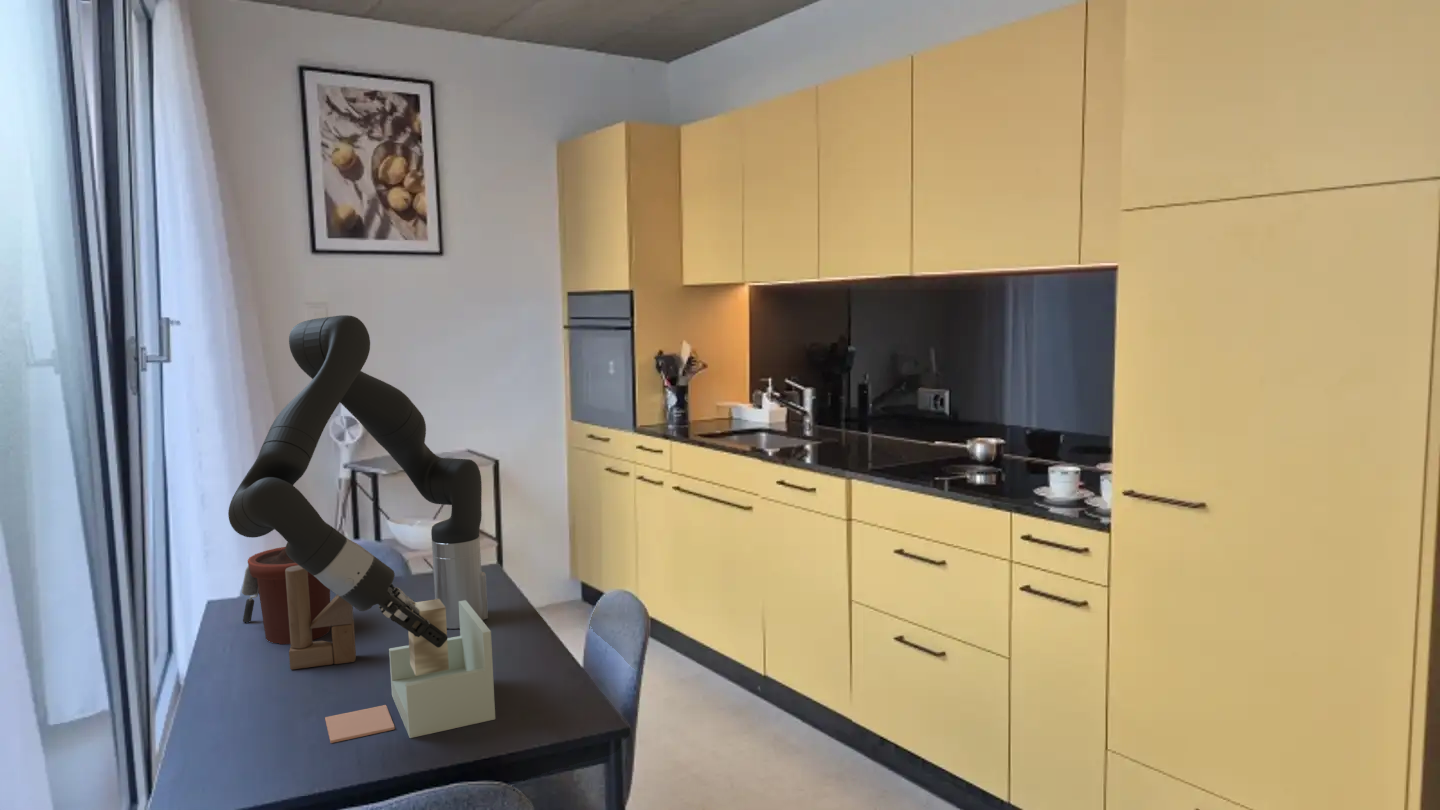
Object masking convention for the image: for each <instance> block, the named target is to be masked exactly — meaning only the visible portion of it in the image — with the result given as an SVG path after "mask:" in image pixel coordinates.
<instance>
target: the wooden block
mask: <svg viewBox="0 0 1440 810" xmlns="http://www.w3.org/2000/svg"><path fill="white" fill-rule="evenodd" d="M285 575H286V589H287V602H288V615H289V629H290V642H291V644H290V647H289V649H288V650H289V651H288V657H289V658H288V659H289V669H290V670H292V671H293V670H299V669H306V668H316V667H324V666H331V665H333V664H334V665H341V664H347V663H354V662H356V656H357V649H356V636H355V633H356V632H355V620H354V606H352V605H351V604H349V603H348V602H347V601H345V600H344V599H342V598H341V597H340V596H338V595H337V594H336V595H335V596H334V597H333V598H332V600H330V603H329V604H328V605H327V606H326V607H325V608H324V609H323V610H322V611H321V612H320V614H319V615H318V616H317V617H316V618H315V619H314V620H313V621H312V623H311V614H310V600H309V586H308V572H307V571H306V570H305V569H304V568H302V567H301V566H299V565H297V566H291V567H288V568H286V570H285ZM328 626H330V631H331V641H325V640H317V641H316V640H315V641H313V640H312V628H320V627H328Z"/></svg>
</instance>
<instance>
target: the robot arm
mask: <svg viewBox="0 0 1440 810" xmlns="http://www.w3.org/2000/svg"><path fill="white" fill-rule="evenodd" d="M370 338H371V337H370V334H369V331H368V328H367V327H366V325H365V323H364V322H363V321H361V319H359V318H358V317H356V316H353V315H333V316H326V317H320V318H319V317H318V318H312V319H308V320H304V321H302V322H299V323H297V324H296V325H295V326H294V327H292V329H291V330H290V332H289V336H288V345H289V350H290V354H291V355H292V357H293V359H294V361H295V362H296V364H297V365H298V367H299V368H300V369H301V370H302V372H304V373H305V374H306V375H307V376H308V377H309V378H311V381H310V382H309V383H308V384H307V385H306V386H305V387H304V388H303V389H302V390H301V391H300V392H299V393H298V394H297V395H296V396H295V397H294V398H293V399H292V400H291V401H290V402H289V403H287V404H286V405H285V406H284V407H283V408H282V409H281V411H280V412H279V413H278V415H277V416H276V418H275V419H274V421H272V423H271V426H270V427H269V430H268V432H267V435H265V439H264V441H263V443H262V445H261V447H260V450H259V453H258V455H257V458H256V459H255V461H254V462H253V465H252V466H251V467H250V469H248V472H247V473H246V475H245V476H244V478H243V480H242V481H241V482H240V483H239V486H238V487H237V489H236V491H235V492H234V494H233V496H232V497H231V501H230V503H229V506H228V510H227V511H228V516H227V517H228V520H229V525H230V526H231V528H232V529H233V531H235V532H236V534H238V535H240V536H243V537H246V538H259V537H264V536H265V535H268V534H269V533H271V532H273V531H274V530H275V532H278V534H279V535H281V537H282V538H284V540H285V541H286V544H285V547H286V548H285V549H286V554H287V555H288V557H289V558H290V559H292V560H293V561H294V562H295V563H297V564H298V565H299V566H301V567H302V568H304V569H305V570H306V571H308V572H309V573H311V574H312V575H314V576H315V577H316V578H317V579H318V580H319V581H320V582H321V583H322V584H323V585H324V586H326V587H327V588H328V589H330V592H333V593H334V594H336V595H338V596H340V597H341V598H342V599H344V600H345V601H347V602H348V603H349V604H351V605H352V606H353V608H355V610H358V611H360V612H365V611H368V610H371V609H372V608H373V606H375V605H379V606H378V608H379V609H380V612H381V614H383V615H384V616H385V617H386V618H387V619H390V620H391V621H392V622H395V623H396V624H397V625H399V626H400V627H402V628H404V629H405V630H407V632H408V631H409V632H411V633H413V634H414V636H417V637H420V636H422V637H424V638H425V639H426V640H428V641H429V642H431V643H432V644H433V645H435V646H436V647H438V648H439V647H441V646H442V645H443V644H444V643H445V641H446V640H447V638H449V637H448V634H447V635H446V634H445V633H443V632H442V631H441V630H439V629H438V628H437V627H435V626H434V625H432V624H431V623H430V622H429V620H428V619H425V618H424V617H423V616H421V615H420V609H419V608H417V607H416V606H415V605H414V604H415V602H416V601H414V600H413V599H412V598H411V597H410V596H409V595H406V593H405V592H404V591H403V590H402V589H400V588H399V587H398V586H396V587H395V586H394V584H393V582H394V580H395V576H396V574H395V571H394V570H393V569H392V568H391V567H390V566H388V565H387V564H385V563H384V562H383V561H382V560H380V559H379V558H378V557H376V556H375V555H373V554H372V553H371V552H370V551H368V550H367V549H366V548H364V547H363V546H361V545H360V544H359V543H357V542H355V541H353V540H351V539H349V538H348V537H346V536H345V535H344V534H342V533H341V532H340V531H338V529H336V528H334V527H333V526H332V525H330V524H329V523H328V522H326V521H325V520H324V519H323V518H322V516H321V515H320V514H319V512H318V511H317V510H316V509H315V507H314V506H313V505H312V504H311V503H310V502H309V500H308V499H307V498H306V496H304V495H303V493H302V492H301V491H300V490H299V489H297V487H296V486H294V485H295V484H296V483H297V482H298V481H299V480H300V479H301V478H302V477H303V476H304V474H305V472H306V471H307V469H308V468H309V465H310V462H311V460H312V458H313V455H314V453H315V451H316V448H317V446H318V443H319V441H320V438H321V436H322V434H323V432H324V429H325V428H326V426H327V424H328V422H329V421H330V419H331V417H332V415H333V414H334V412H335V411H336V409H337V408H338V406H339V404H341V405H342V406H343V407H344V408H345V409H346V410H347V411H348V412H349V413H350V414H351V415H352V416H353V417H354V418H355V419H356V420H357V421H358V422H359V423H360V425H362V426H363V428H364V429H365V430H366V431H367V433H368V434H370V436H371V437H372V438H373V439H374V440H375V441H376V442H377V443H378V444H379V445H380V446H381V447H382V448H383V449H384V450H385V451H386V452H387V454H389V456H391V457H392V458H393V460H394V461H395V462H396V463H397V464H398V465H399V466H400V468H402V470H403V471H404V473H405V474H406V476H408V478H409V480H410V481H411V482H412V484H413V486H414V487H415V488H416V490H417V491H418V493H420V495H421V496H422V497H423V499H425V500H426V501H428V502H429V503H430V504H435V505H447V506H451V512H450V513H451V514H450V517H449V518H448V519H444V520H441V521H439V522H437V523H435V524H433V526H432V527H431V535H430V536H431V551H432V566H433V570H432V571H433V585H434V586H433V587H434V599H440V601H441V602H442V603H443V605H444V606H445V607H446V626H447V629H454V630H456V629H460V620H459V601H464V600H466V601H467V602H468V604H469V605H470V606H471V607H472V609H473V610H474V611H475V612H476V613H477V615H478V616H479V617H480V618H481V620H482V621H483V622H484V620H486V619H489V611H488V595H487V593H488V592H487V576H486V572H485V571H482V559H481V557H482V556H481V542H480V541H481V540H480V536H481V535H480V528H481V523H482V515H483V513H482V512H483V511H482V493H483V492H482V488H483V487H482V475H481V471H480V468H479V466H478V464H477V463H476V461H474V460H472V459H469V458H468V459H467V458H453V457H452V458H449V457H448V458H447V457H445V458H444V457H440V456H438V455H437V454H435V453H434V452H433V451H432V450H431V449H430V448H429V447H428V446H427V444H426V443H425V442H426V434H427V425H426V421H425V417H424V415H423V414H422V412H421V411H420V410H419V409H418V407H417V406H416V405H415V404H414V403H413V401H412V400H411V399H410V397H408V396H407V394H405V393H404V392H402V391H401V390H400V389H399V388H397V387H395V386H393V385H391V384H390V383H388V382H385V381H384V380H382V379H380V378H377V377H374V376H372V375H370V374H367V373H366V372H364V371H362V369H363V367H364V365H365V364H366V362H367V361H368V357H369V354H370V350H371V340H370ZM412 609H413V612H412ZM416 621H419V622H421V623H420V624H419V625H418V627H417V628H415V627H414V626H413V624H414V623H415V622H416Z"/></svg>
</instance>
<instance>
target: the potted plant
mask: <svg viewBox="0 0 1440 810" xmlns="http://www.w3.org/2000/svg"><path fill="white" fill-rule="evenodd" d="M285 548H286V546H281V547H277V548H270V549H267V550H263V551H261V552H260V551H259V552H258V553H255V554H253V555H251V556H249V558H247V564H248V565H247V566H246V568H245V571H244V577H243V583H242V589H241V593H242V594H243V595H244V596H249V598H247V599H246V602H245V607H244V611H243V612H244V613H243V615H242V622H243V623H244V622H249V621H252V615H253V612H254V611H253V610H254V605H255V598H258V595H259V604H260V609H261V615H262V622H263V628H264V629H263V630H264V635H265V640H266V639H267V640H268V641H270V642H273V643H279V644H278V645H291V642H290V629H289V615H288V602H287V589H286V575H285V570H286V568H288V567H291V566H297V565H298V564H297V563H295V562H294V561H293V560H292V559H290V558H289V557H288V555H287V554H286V549H285ZM307 572H308V571H307ZM308 586H309V600H310V614H311V623H312V621H313V620H314V619H315V618H316V617H317V616H318V615H319V614H320V612H321V611H322V610H323V609H324V608H325V607H326V606H327V605H328V604H329V603H330V602H331V590H330V589H328V588H327V587H326V586H324V585H323V584H322V583H321V582H320V581H319V580H318V579H317V578H316V577H315V576H314V575H312V574H311V573H309V572H308ZM249 623H250V622H249ZM330 631H331V626H328V627H320V628H312V641H314V640H318V639H320V638H322V637H324V636H325V635H327V634H329V633H330ZM267 640H266V641H267ZM268 641H267V642H268ZM270 642H269V643H270ZM273 643H272V644H273Z"/></svg>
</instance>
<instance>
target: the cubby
mask: <svg viewBox="0 0 1440 810" xmlns="http://www.w3.org/2000/svg"><path fill="white" fill-rule="evenodd" d="M459 620H460V628H459V635H458V636H453V637H448V638H447V644H448V663H449V670H444V671H439V672H433V673H428V674H423V675H418V676H416V675H415V673H414V671H413V669H412V668H411V666H410V652H409V644H408V645H403V646H396V647H391V648H388V651H389V652H388V655H389V671H390V673H389V674H390V685H391V686H390V687H391V696H392V699H393V702H394V704H395V707H396V709H397V711H398V714H399V716H400V719H401V721H402V723H403V725H404V729H405V730H406V733H407V735H408V737H409V739H413V738H417V737H421V736H427V735H431V734H434V733H439V732H444V731H448V730H453V729H456V728H461V727H467V726H472V725H476V724H479V723H484V722H489V721H493V720H496V709H495V708H496V705H495V704H496V703H495V688H494V685H495V684H494V668H493V667H494V665H493V646H492V644H493V643H492V630H490V628H489V627H488V626H487V624H485V622H484V620H483V621H482V620H481V618H480V617H479V616H478V615H477V613H476V612H475V611H474V610H473V609H472V607H471V606H470V605H469V604H468V602H467V601H466V600H464V601H459Z"/></svg>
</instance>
